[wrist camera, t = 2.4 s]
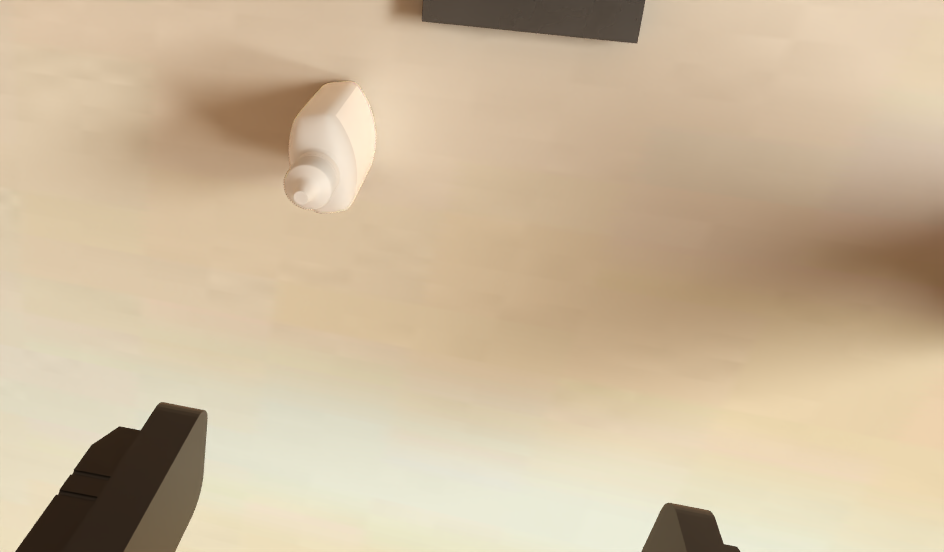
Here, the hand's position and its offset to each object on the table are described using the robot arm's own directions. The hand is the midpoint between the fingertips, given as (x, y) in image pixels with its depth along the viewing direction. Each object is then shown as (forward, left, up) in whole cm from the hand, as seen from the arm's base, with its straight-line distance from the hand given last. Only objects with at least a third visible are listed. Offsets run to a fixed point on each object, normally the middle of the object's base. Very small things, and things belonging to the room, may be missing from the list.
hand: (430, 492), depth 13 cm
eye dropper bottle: (-1, +9, -36) cm, 37 cm away
